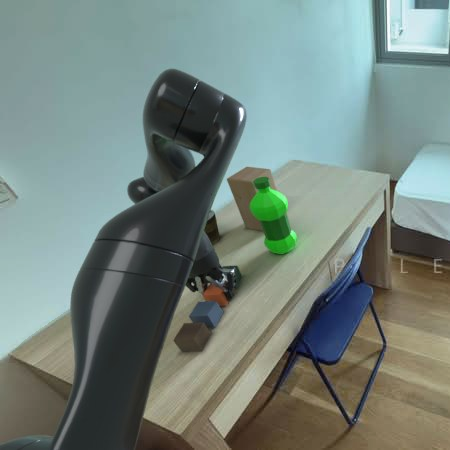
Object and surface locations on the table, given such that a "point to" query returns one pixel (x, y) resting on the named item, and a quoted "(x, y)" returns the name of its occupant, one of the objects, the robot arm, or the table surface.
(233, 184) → the wooden block
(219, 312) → the block
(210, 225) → the ceramic cup
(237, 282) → the block
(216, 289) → the block
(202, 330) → the block
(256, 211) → the plastic bottle
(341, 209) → the table surface
